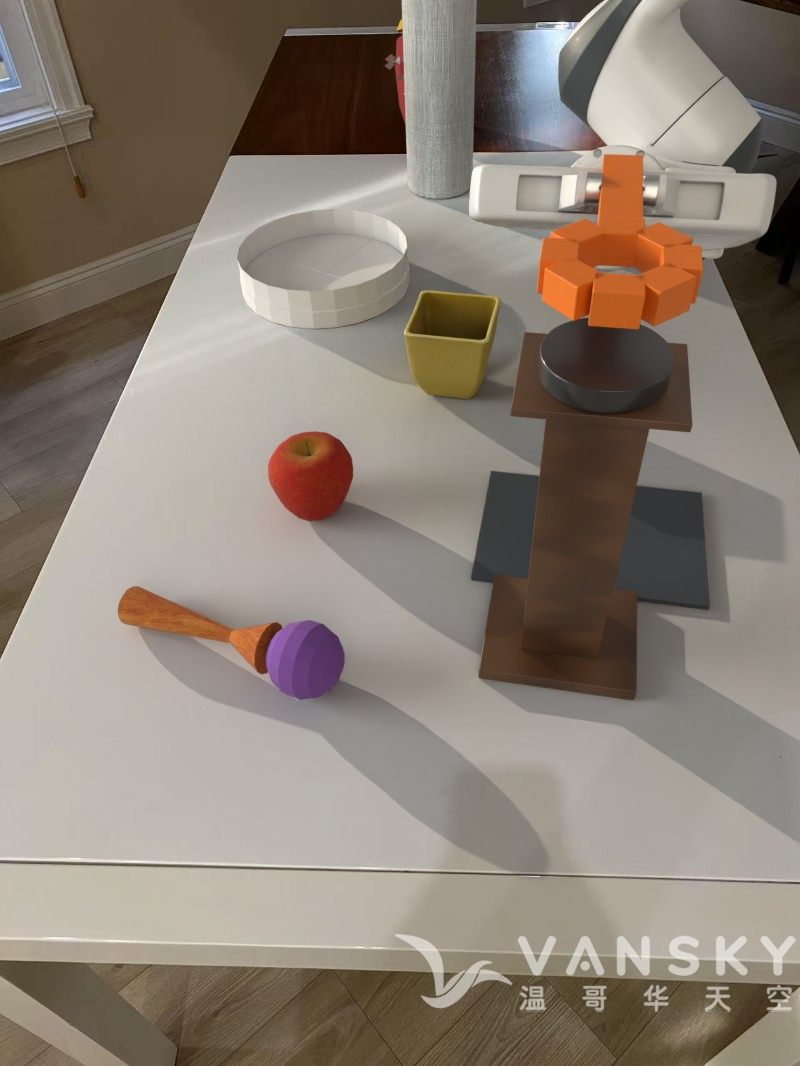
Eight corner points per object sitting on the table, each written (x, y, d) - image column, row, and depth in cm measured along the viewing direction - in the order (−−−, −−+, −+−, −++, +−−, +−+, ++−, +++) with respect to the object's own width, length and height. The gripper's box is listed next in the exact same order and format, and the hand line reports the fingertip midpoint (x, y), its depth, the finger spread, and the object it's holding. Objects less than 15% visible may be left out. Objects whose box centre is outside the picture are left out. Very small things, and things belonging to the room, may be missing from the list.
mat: (700, 495, 78) (701, 492, 78) (708, 610, 69) (710, 606, 69) (490, 474, 82) (491, 470, 81) (470, 580, 72) (471, 576, 72)
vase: (485, 183, 128) (492, -22, 109) (442, 206, 123) (442, -4, 104) (437, 167, 133) (436, -32, 114) (394, 188, 128) (385, -16, 109)
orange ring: (685, 181, 54) (691, 150, 53) (697, 334, 42) (706, 298, 41) (556, 176, 56) (558, 146, 54) (531, 322, 43) (534, 288, 42)
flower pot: (485, 414, 88) (488, 341, 82) (405, 404, 90) (402, 333, 84) (497, 366, 94) (501, 296, 88) (422, 359, 96) (421, 289, 89)
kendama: (147, 557, 70) (355, 616, 63) (160, 611, 74) (359, 673, 66) (98, 598, 66) (316, 666, 59) (115, 653, 69) (323, 724, 62)
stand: (634, 600, 70) (709, 313, 50) (634, 701, 63) (719, 414, 43) (493, 583, 72) (511, 299, 52) (478, 678, 65) (492, 394, 45)
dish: (442, 267, 110) (442, 231, 107) (343, 347, 98) (339, 310, 95) (312, 229, 120) (308, 195, 116) (207, 298, 107) (198, 263, 104)
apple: (259, 510, 80) (245, 448, 74) (316, 467, 84) (307, 405, 78) (316, 546, 76) (305, 484, 70) (373, 500, 80) (367, 437, 74)
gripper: (480, 160, 65) (459, 126, 52) (755, 171, 61) (806, 137, 48) (473, 245, 66) (451, 234, 53) (740, 260, 63) (785, 251, 50)
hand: (622, 188), depth 51 cm, fingers closed on orange ring, 2 cm apart
